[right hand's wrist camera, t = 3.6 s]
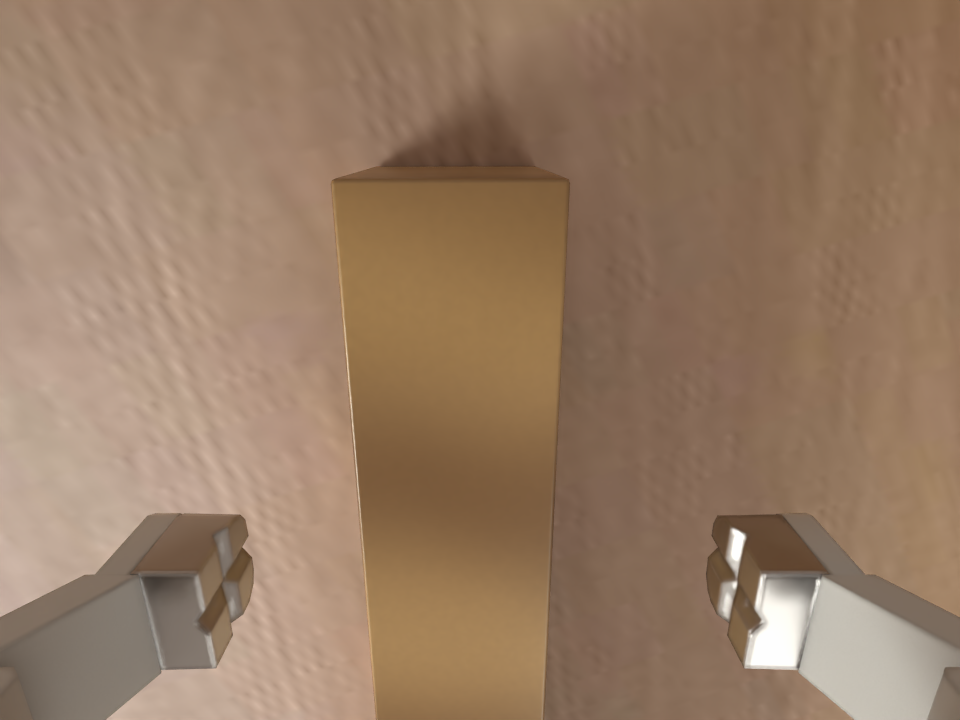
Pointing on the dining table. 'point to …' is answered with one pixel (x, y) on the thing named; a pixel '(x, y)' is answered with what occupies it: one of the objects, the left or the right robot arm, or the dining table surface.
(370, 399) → the bar
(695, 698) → the dining table surface
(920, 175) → the dining table surface
